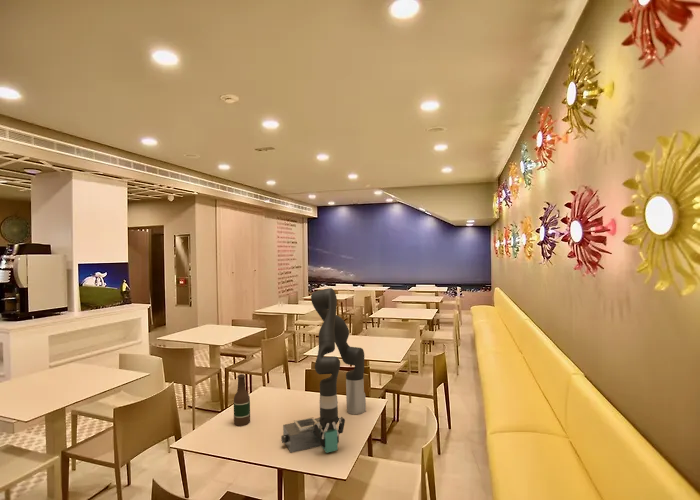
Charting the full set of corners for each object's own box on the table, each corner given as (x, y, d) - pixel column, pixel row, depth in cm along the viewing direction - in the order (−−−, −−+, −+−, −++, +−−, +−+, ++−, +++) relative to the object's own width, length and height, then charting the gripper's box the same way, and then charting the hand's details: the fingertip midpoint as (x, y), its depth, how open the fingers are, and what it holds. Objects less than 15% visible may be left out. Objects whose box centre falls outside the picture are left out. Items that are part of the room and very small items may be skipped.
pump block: (333, 444, 168) (332, 426, 168) (337, 450, 163) (337, 430, 163) (322, 447, 166) (321, 428, 166) (326, 452, 161) (325, 433, 161)
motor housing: (321, 432, 182) (321, 414, 182) (330, 443, 171) (330, 424, 171) (279, 441, 174) (278, 422, 174) (285, 453, 163) (285, 433, 163)
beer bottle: (241, 428, 188) (240, 378, 189) (230, 425, 193) (229, 375, 193) (253, 422, 195) (252, 373, 196) (242, 419, 199) (241, 371, 200)
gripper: (341, 398, 171) (342, 438, 171) (309, 404, 165) (310, 445, 165) (347, 404, 164) (348, 445, 164) (315, 410, 158) (316, 453, 158)
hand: (329, 445), depth 164 cm, fingers closed on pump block, 5 cm apart
